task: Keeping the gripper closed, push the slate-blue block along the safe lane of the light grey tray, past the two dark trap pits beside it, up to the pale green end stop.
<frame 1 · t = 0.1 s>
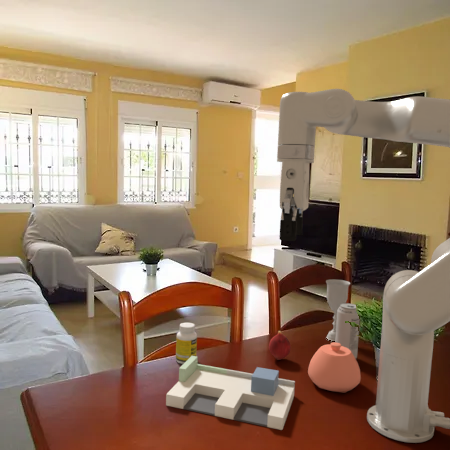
hand: (291, 237, 91), 37 cm above the table, tool pointing down, fingers open, 9 cm apart
energy drink can: (345, 359, 120), on the table
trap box: (231, 400, 95), on the table
onion: (279, 360, 118), on the table
sugar bowl: (333, 383, 106), on the table
supplement bottle: (186, 361, 115), on the table
chalice: (334, 339, 135), on the table
block: (264, 388, 96), point 2 cm above the table, touching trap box
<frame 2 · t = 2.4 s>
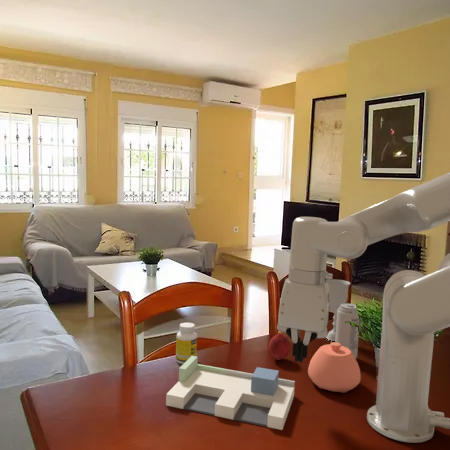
hand: (299, 359, 93), 10 cm above the table, tool pointing down, fingers closed
nothing on the table moved.
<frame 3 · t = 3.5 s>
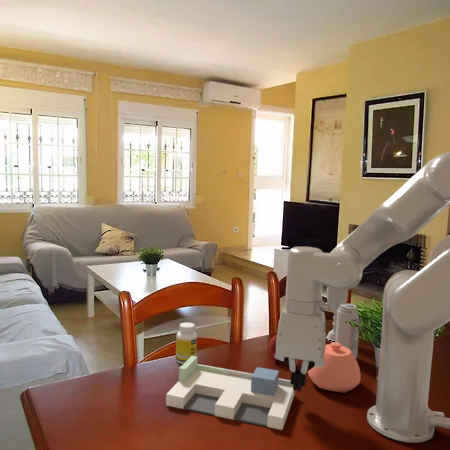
hand: (297, 388, 94), 4 cm above the table, tool pointing down, fingers closed
nothing on the table moved.
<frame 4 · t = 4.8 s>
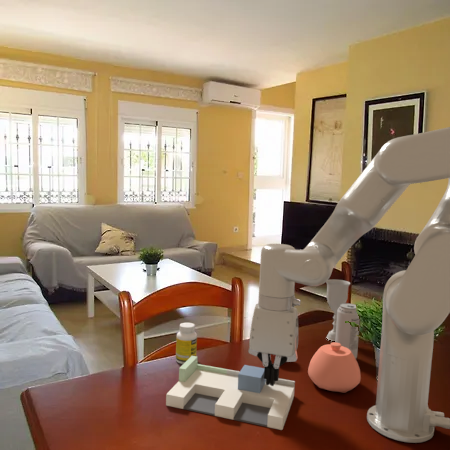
hand: (271, 382, 96), 4 cm above the table, tool pointing down, fingers closed
block: (251, 386, 97), point 3 cm above the table, touching gripper
everything else where it was.
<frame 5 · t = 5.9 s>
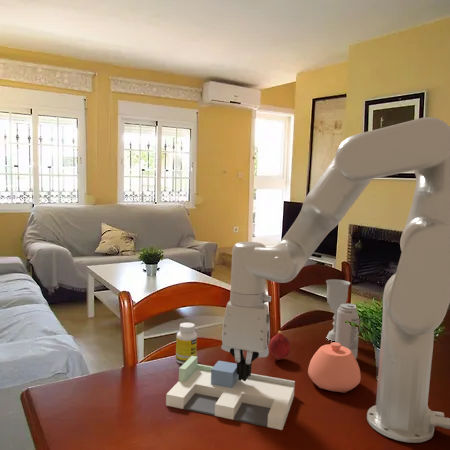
hand: (243, 377, 98), 4 cm above the table, tool pointing down, fingers closed
block: (224, 381, 99), point 2 cm above the table, touching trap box
everything else where it was.
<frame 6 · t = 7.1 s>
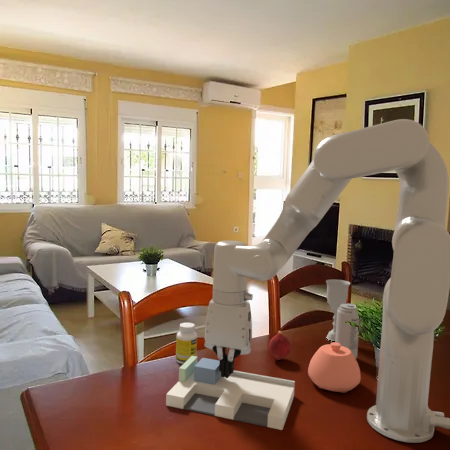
hand: (226, 375, 99), 4 cm above the table, tool pointing down, fingers closed
block: (208, 378, 100), point 2 cm above the table, touching gripper, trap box
everything else where it was.
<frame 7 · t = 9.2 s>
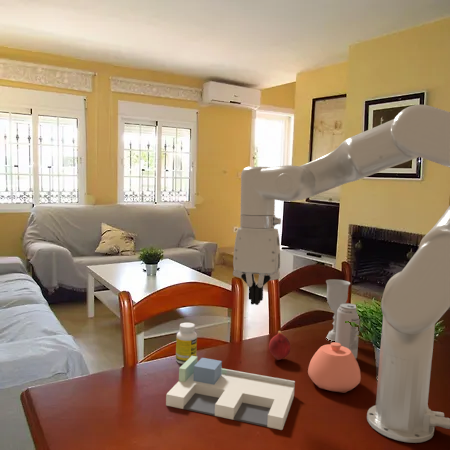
hand: (255, 303, 99), 21 cm above the table, tool pointing down, fingers closed
block: (207, 378, 100), point 2 cm above the table, touching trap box
everything else where it was.
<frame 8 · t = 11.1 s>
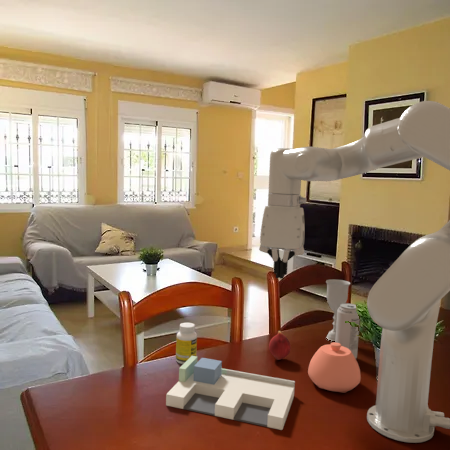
hand: (280, 277, 105), 25 cm above the table, tool pointing down, fingers closed
nothing on the table moved.
at the end: block 0.5 cm from the target spot, point 2.5 cm above the table; block tilted 0° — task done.
